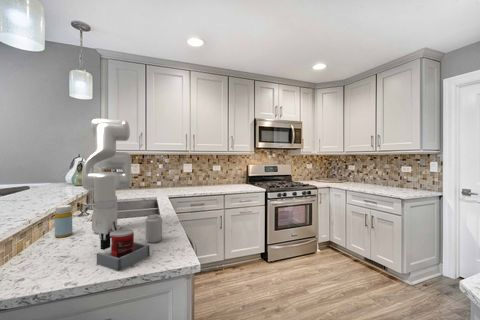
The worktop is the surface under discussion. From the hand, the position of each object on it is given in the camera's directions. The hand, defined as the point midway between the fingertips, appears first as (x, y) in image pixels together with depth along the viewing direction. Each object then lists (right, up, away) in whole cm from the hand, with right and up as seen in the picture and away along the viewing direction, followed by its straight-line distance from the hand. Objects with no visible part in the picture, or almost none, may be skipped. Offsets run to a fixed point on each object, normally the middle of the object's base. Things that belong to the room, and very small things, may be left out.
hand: (105, 248), depth 95 cm
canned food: (+10, -3, -5) cm, 11 cm away
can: (+14, -2, +15) cm, 21 cm away
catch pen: (+10, -3, -5) cm, 12 cm away
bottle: (-34, -2, +21) cm, 40 cm away
